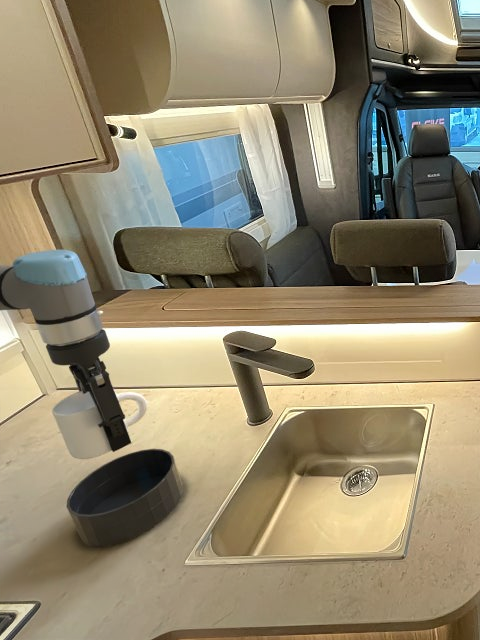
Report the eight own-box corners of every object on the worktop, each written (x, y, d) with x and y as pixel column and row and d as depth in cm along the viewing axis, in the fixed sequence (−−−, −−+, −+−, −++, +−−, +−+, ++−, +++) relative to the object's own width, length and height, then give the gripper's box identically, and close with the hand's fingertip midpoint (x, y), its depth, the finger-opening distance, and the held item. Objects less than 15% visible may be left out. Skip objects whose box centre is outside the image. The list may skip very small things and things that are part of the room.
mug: (149, 413, 88) (136, 372, 84) (157, 433, 82) (143, 390, 79) (69, 444, 79) (50, 400, 76) (72, 468, 74) (52, 422, 71)
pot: (69, 518, 83) (55, 488, 80) (165, 465, 96) (156, 438, 93) (95, 564, 75) (81, 533, 72) (196, 499, 88) (187, 470, 85)
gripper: (124, 344, 71) (158, 447, 79) (85, 312, 82) (118, 405, 89) (63, 365, 65) (106, 475, 73) (29, 327, 76) (70, 426, 83)
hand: (113, 436), depth 81 cm, fingers closed on mug, 8 cm apart
